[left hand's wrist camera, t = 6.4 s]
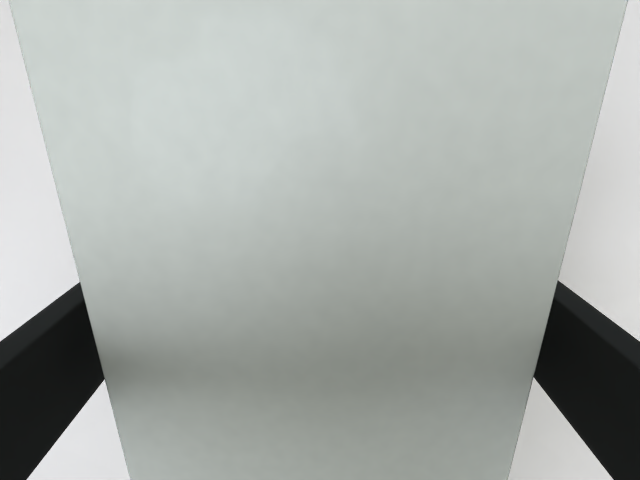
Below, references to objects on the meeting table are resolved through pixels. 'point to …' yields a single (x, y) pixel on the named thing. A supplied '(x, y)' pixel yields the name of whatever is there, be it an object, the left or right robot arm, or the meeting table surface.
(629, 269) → the meeting table surface
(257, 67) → the pale grey box
